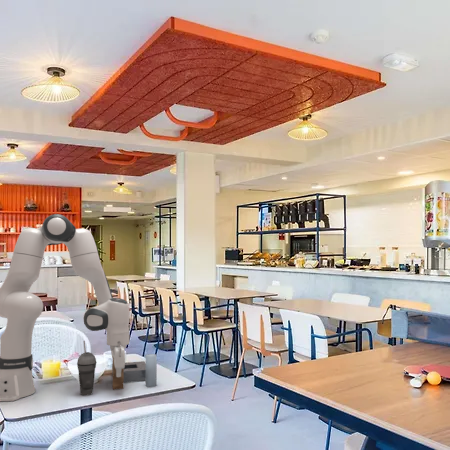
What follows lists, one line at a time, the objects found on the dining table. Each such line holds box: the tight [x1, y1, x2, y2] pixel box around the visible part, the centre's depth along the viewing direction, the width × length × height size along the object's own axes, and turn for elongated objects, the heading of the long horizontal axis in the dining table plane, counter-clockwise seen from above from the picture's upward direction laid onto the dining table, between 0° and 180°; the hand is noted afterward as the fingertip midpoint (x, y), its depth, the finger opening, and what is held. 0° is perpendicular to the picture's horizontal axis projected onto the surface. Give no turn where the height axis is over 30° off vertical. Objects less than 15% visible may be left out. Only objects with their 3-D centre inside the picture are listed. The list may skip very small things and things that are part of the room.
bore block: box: [111, 360, 146, 384], centre depth 205 cm, size 14×14×4 cm
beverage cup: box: [76, 340, 97, 396], centre depth 184 cm, size 7×7×20 cm
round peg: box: [144, 353, 158, 388], centre depth 194 cm, size 4×4×12 cm
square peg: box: [111, 356, 124, 391], centre depth 191 cm, size 4×4×12 cm
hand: (117, 374), depth 191 cm, fingers open, 5 cm apart
